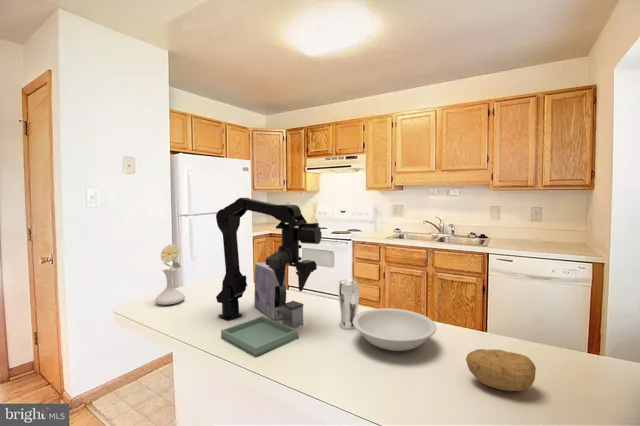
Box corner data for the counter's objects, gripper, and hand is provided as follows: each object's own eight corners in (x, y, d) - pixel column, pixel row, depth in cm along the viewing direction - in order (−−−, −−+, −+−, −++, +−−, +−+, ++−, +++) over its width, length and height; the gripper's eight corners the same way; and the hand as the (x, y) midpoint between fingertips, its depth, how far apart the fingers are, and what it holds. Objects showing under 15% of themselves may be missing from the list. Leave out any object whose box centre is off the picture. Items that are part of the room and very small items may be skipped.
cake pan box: (287, 319, 116) (287, 270, 115) (275, 322, 113) (274, 272, 112) (265, 304, 131) (264, 261, 131) (253, 307, 129) (252, 263, 128)
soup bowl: (382, 321, 113) (382, 303, 112) (450, 343, 95) (450, 321, 95) (336, 344, 96) (335, 322, 95) (408, 375, 79) (408, 349, 78)
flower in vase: (149, 303, 133) (147, 244, 132) (175, 296, 143) (173, 240, 141) (167, 310, 126) (164, 246, 125) (193, 301, 135) (191, 242, 134)
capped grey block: (282, 325, 110) (281, 304, 110) (293, 320, 114) (293, 300, 114) (292, 329, 107) (292, 307, 106) (303, 324, 111) (303, 303, 110)
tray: (221, 338, 100) (221, 330, 100) (262, 322, 112) (262, 315, 112) (256, 357, 88) (255, 348, 88) (298, 338, 100) (298, 330, 100)
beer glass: (358, 330, 105) (358, 285, 104) (337, 329, 107) (337, 284, 106) (360, 322, 112) (359, 279, 111) (340, 320, 113) (339, 278, 113)
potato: (464, 370, 81) (465, 338, 81) (530, 381, 76) (531, 348, 75) (466, 391, 72) (467, 357, 72) (540, 406, 67) (542, 369, 66)
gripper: (253, 242, 107) (253, 288, 108) (293, 248, 95) (293, 300, 96) (277, 239, 116) (278, 281, 117) (317, 244, 104) (317, 291, 105)
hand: (290, 288), depth 108 cm, fingers open, 9 cm apart
